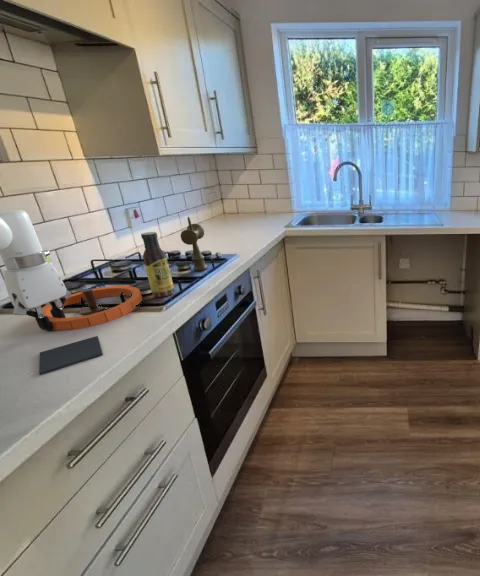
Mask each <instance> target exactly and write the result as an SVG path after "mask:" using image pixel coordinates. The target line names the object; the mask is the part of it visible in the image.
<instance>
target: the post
mask: <svg viewBox="0 0 480 576" xmlns="http://www.w3.org/2000/svg"><path fill="white" fill-rule="evenodd" d="M93 289H94V288H86V289H83V290H81V292H83V293H84V295H85V298H86V300H87V301H86V303H87V305H88V306H89V307H84V306H83V307H81V308H80V309H79V310H78V313H79V314H80V316H85V315H90V314H94V313H98V312H101V311H104V309H105V307H102V306H101V307H100V306H98V305H99V304H100V305H101V304H109V303H108V302H105V301H103V302H102V301H100V302H97V300H96V298H95V297H94V294H93Z"/></svg>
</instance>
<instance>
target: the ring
mask: <svg viewBox="0 0 480 576" xmlns="http://www.w3.org/2000/svg"><path fill="white" fill-rule="evenodd" d="M92 289H93V294H94V297H95V299H99V298H106V297H118V296H121V295H120V294H121V293H122V292H124V295H127V296H126V297H129V296H130V293H132V296H131V297H129V298H127V300H125V301H124V302H122V303H120V304H118V305H115V306H112V307H109V308H108V309H106V310H104V311H101V312H98V313H94V314H90V315H79V316H74V317H73V316H71V317H65V318H54V317H52V314H51V312H50V311H51V309H52V308H51V306H50V304H49V303H46V304H45V305H44V306H41V307H42V310H43V313H44V316H47V317H48V318H49V321H50V323H51V325H52V328H53V329H52V330H51V331H69V330H78V329H82V328H89V327H93V326H96V325H97V326H98V325H100V324H104V323H108V322H110V321H113V320H115V319H118V318H121V317H123V316H125V315H127V314H129V313H131V312H133V311H134V310H135V309H134V308H135V306H136V305H138V304H139V303H140V302H141V301H142V302H143V300H142V298H143V296H142V293H141V290H140V289H139V288H138V287H135V286H131V285H109V286H103V287H96V288H92ZM81 297H82V298H83V299H84V300H85V301H84V302H87V300H86V298H85V295H84V293H83V292H82V291H79V292H75V293H71V295H70V296H69V297H68V298H67V299H66V301H65V303H64V305H63V306H66V305H69V304H74V303H77V304H80V303H82V302H81ZM79 302H80V303H79ZM74 305H75V304H74Z"/></svg>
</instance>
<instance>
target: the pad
mask: <svg viewBox="0 0 480 576" xmlns="http://www.w3.org/2000/svg"><path fill="white" fill-rule="evenodd" d="M103 355H104V354H103V349H102V346H101V343H100V339H99V336H98V335H95V336H91V337H87V338H85V339H82V340H78V341H74V342H71V343H67V344H64V345H61V346H57V347H53V348H50V349H47V350H43V351H40V352H39V360H38V361H39V366H38V369H39V371H38V373H39V375H44V374H46V373H50V372H53V371H56V370H60V369H63V368H66V367H69V366H72V365H75V364H79V363H81V362H86V361H88V360H91V359H95V358H98V357H101V356H103Z"/></svg>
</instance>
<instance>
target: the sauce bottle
mask: <svg viewBox="0 0 480 576" xmlns="http://www.w3.org/2000/svg"><path fill="white" fill-rule="evenodd" d="M140 237H141V239H142V241H143V244H144V251H143V255H142V259H143V263H144V268H145V273H146V276H147V280H148V284H149V288H150V291H151V293H152V296H153V297H155V298H164V297H168V296H171V295H173V294H174V293H175V286H174V281H173V278H172V274H171V270H170V266H169V261H168V257H167V256H166V254H165V253H164V251H163V250H162V248H161V247H160V244H159V239H158V233H157V232H156V231H148V232H141V233H140Z"/></svg>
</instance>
